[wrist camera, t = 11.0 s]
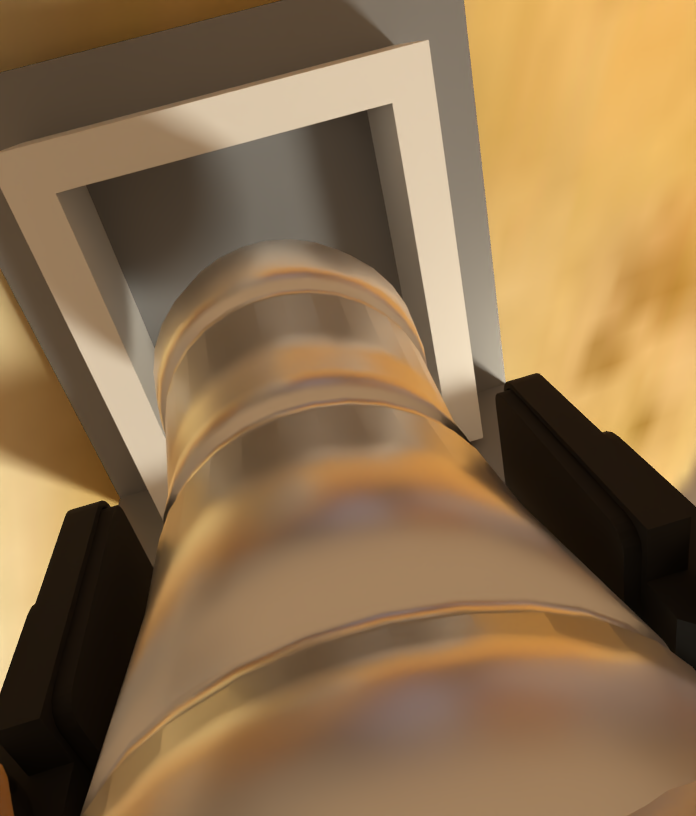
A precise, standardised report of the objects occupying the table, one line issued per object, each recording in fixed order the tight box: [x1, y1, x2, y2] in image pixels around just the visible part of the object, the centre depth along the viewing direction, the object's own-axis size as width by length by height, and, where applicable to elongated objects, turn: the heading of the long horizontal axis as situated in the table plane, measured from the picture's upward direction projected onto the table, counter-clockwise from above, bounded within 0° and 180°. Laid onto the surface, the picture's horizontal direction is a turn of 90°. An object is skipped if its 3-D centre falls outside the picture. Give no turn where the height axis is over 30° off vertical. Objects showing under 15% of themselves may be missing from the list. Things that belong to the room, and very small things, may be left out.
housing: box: [0, 0, 506, 568], centre depth 19 cm, size 16×16×8 cm
